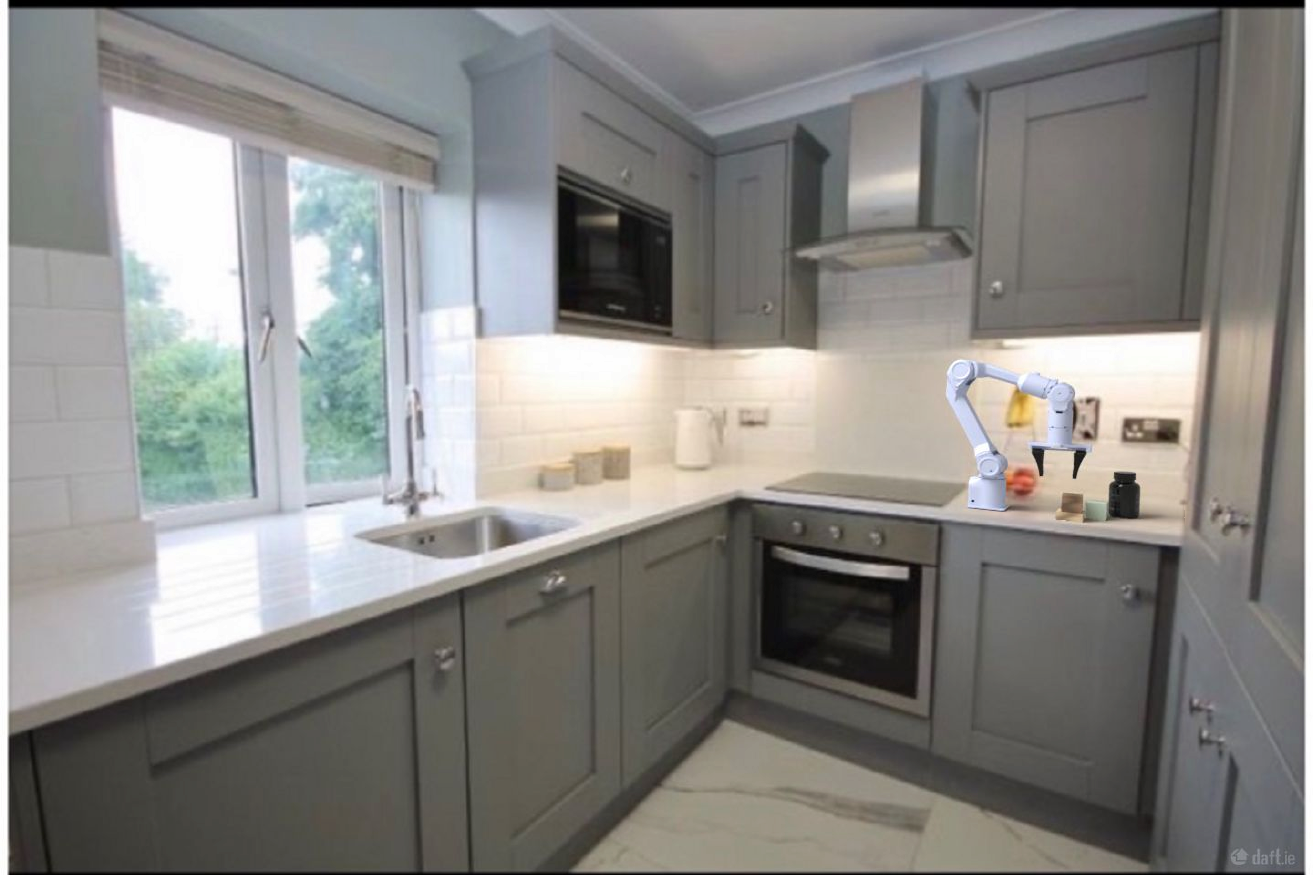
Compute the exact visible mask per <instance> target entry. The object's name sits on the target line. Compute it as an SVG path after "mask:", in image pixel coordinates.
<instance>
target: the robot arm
mask: <svg viewBox="0 0 1313 875" xmlns="http://www.w3.org/2000/svg"><path fill="white" fill-rule="evenodd" d="M1040 374H1041V373H1040V372H1038V371H1034V372H1033V373H1032V372H1027V373H1026V372H1025V373H1024V374H1020V373H1016V372H1014V371H1012V370H1008V369H1006V368H1003V367H1000V366H997V365H994V364H991V363H989V362H988V363H987V362H981V361H974V360H972V359H958V360H955V361H953V363H952V364H951V365H950V366H949V368H948V370H947V372H946V378H947V380H946V389H945V390H946V391H945V396H946V399H947V401H948V402H949V404H950V406H951V408H952V410H953V412H954V414H955V416H956V418H957V420H958V422H959V423H960V425H961V427H962V429H963V431H964V433H965V435H966V437H967V439H968V441H969V442H970V444H971V446H972V448H973V451H974V459H975V460H976V464H977V465H976V469H977V471H978V472H979V474H978V475H977V476H976V475H975V476H974V475H973V476H970V478H969V480H968V495H967V498H968V499H967V506H966V507H967V508H972V509H981V510H990V511H991V510H992V511H1000V512H1005V511H1006V510H1007V509H1008V508H1010V505H1009V504H1006V500H1007V499H1006V496H1007V495H1006V494H1007V493H1006V492H1007V476H1006V474H1005V471H1006V470H1007V469H1008V468H1009V462H1008V459H1007V458H1006V456H1005V455H1003V454H1002V453H1000V451H999V450H998V448H997V447H996V446H995V444H994V443H993V442H992V441H991V439H990V437H989V435H988V433H987V431H986V429H985V427H984V426H983V424H982V422H981V420H980V418H979V416H978V415H977V412H976V410H975V408H974V406H973V405H972V403H971V401H970V399H969V397H968V396H967V393H968V392H969V389H970V387H971V385H972V384H973V382H974V381H976V379H979V378H980V379H981V378H983V379H984V378H988V377H989V378H991V379H995V380H998V381H1001V382H1003V383H1004V382H1005V383H1008V384H1012V385H1015V386H1017V388H1018V390H1019V392H1020V393H1024V394H1027V395H1029V396H1033V397H1036V398H1039V399H1041V400H1046V399H1047V400H1048V401H1049V404H1048V405H1049V406H1048V413H1047V433H1046V435H1047V436H1046V442H1045V441H1044V442H1040V441H1036V442H1035V441H1029V442H1027V450H1031V454H1032V456H1033V458H1034V460H1035V461H1034V462H1035V463H1036V465H1037V471H1038V475H1039V477H1044V470H1045V469H1044V459H1045V452H1046V451H1056V452H1057V451H1060V452H1061V451H1062V452H1074V453H1073V470H1072V479H1073V480H1076V479H1077V476H1078V472H1079V469H1080V466H1081V465H1082V463H1083V461H1084V459H1085V458H1086V456H1087V454H1089V453H1092V450H1093V448H1092V447H1093V444H1086V443H1085V444H1083V443H1073V430H1074V429H1073V427H1074V424H1073V423H1074V399H1075V397H1076V390H1075V387H1074V386H1072V385H1071V384H1069V383H1067V382H1065V381H1063V382H1059V379H1057V378H1053V379H1052V378H1050V377H1045V376H1043V375H1040Z"/></svg>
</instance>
